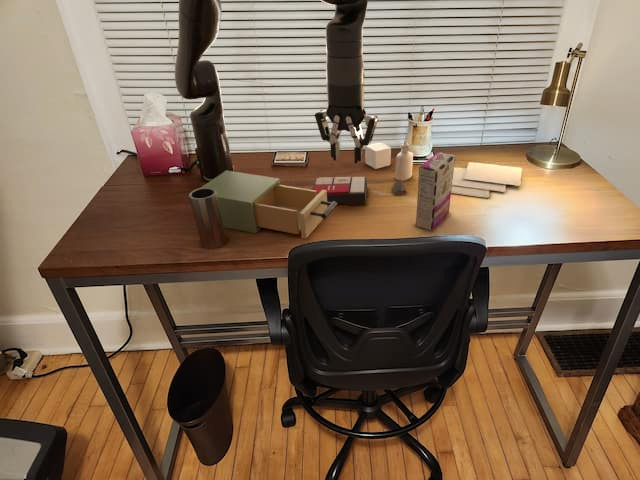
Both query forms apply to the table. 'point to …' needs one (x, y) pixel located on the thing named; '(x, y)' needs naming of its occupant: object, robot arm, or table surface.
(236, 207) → the cabinet
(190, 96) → the robot arm
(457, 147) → the table surface
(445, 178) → the candy bar box
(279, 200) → the drawer
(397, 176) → the eye dropper bottle
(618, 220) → the table surface
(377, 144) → the cream white cube
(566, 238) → the table surface
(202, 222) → the metal cup
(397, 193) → the block
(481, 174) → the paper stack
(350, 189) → the red and black box
